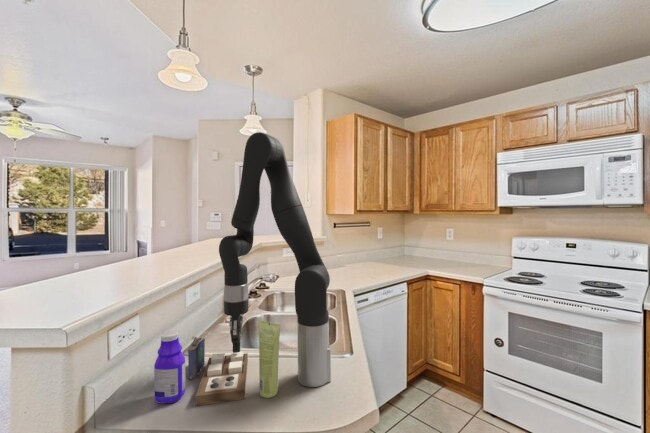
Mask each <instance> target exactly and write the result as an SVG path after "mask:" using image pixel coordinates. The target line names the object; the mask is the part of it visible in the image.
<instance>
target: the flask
mask: <svg viewBox="0 0 650 433" xmlns="http://www.w3.org/2000/svg"><path fill="white" fill-rule="evenodd" d="M205 339H206V338H205V336H199V337H197V336H193V337H192V338H191V340H193V341H192V342H191V344H190V345H189V347H188V349H187V352H188V354H187V355H188V356H187V358H188V359H187V365H188V369H187V370H188V371H187V372H188V378H187V379H188V380H194V379H195V378H197V377H198V376H199V373H201V370H202V369H203V367H204V366H205V365H206V363H205V354H206V353H205V351H206V350H205V348H206V347H205V345H206V344H205V342H206V341H205Z"/></svg>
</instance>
